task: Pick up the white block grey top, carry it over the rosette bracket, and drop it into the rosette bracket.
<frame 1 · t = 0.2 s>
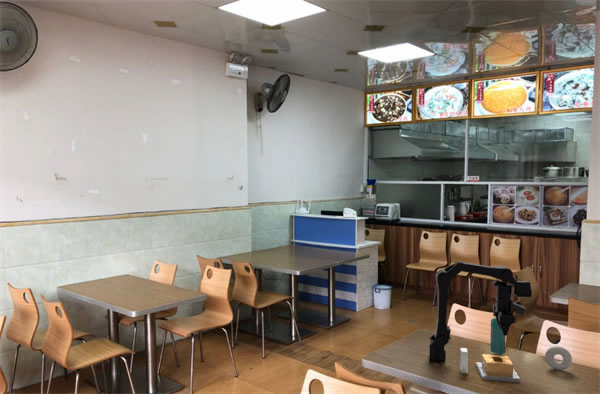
hand: (503, 332, 197), 14 cm above the table, tool pointing down, fingers open, 9 cm apart
beverage bottle: (497, 355, 209), on the table
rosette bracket: (497, 373, 189), on the table
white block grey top: (463, 371, 191), on the table
donut: (558, 370, 192), on the table
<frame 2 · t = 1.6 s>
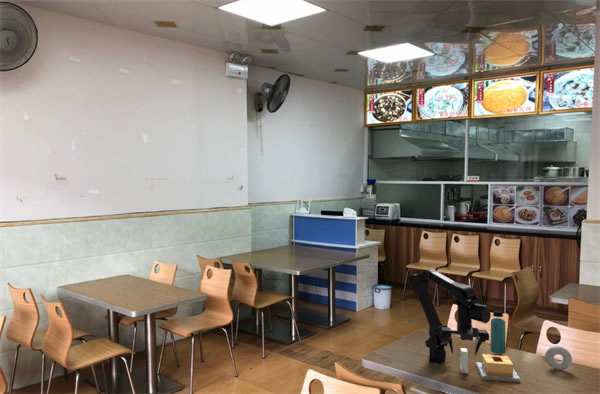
hand: (463, 354, 191), 7 cm above the table, tool pointing down, fingers open, 9 cm apart
nothing on the table moved.
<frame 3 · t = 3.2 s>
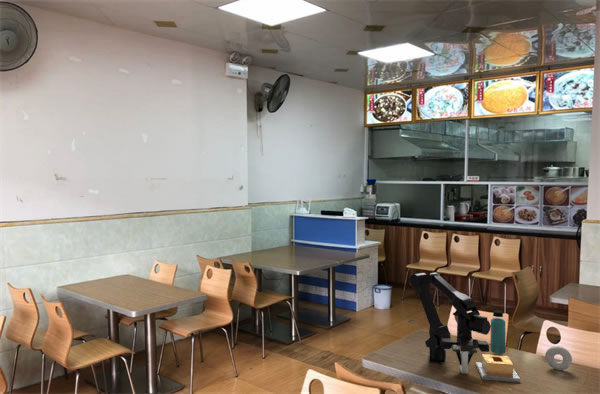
hand: (463, 365, 191), 3 cm above the table, tool pointing down, fingers closed on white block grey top, 2 cm apart
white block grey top: (463, 371, 191), on the table, touching gripper
everything else where it was.
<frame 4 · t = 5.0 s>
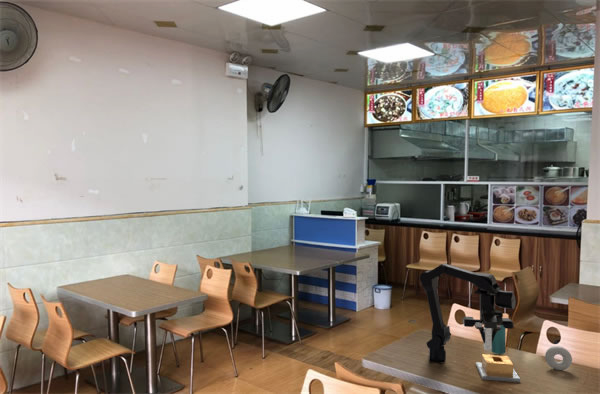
hand: (487, 343, 189), 12 cm above the table, tool pointing down, fingers closed on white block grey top, 2 cm apart
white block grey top: (487, 349, 188), point 10 cm above the table, touching gripper
everything else where it was.
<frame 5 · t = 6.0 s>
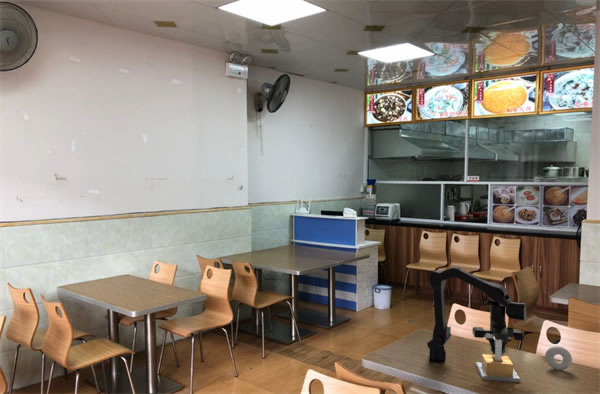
hand: (497, 354, 188), 8 cm above the table, tool pointing down, fingers closed on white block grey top, 2 cm apart
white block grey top: (497, 360, 188), point 6 cm above the table, touching gripper
everything else where it was.
when the fingers open (7 cm above the table, at t = 6.8 s): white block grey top drops 5 cm, resting in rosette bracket.
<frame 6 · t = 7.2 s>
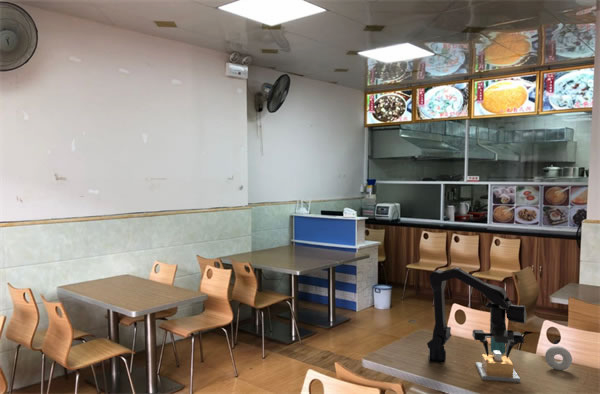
hand: (497, 356, 188), 7 cm above the table, tool pointing down, fingers open, 7 cm apart
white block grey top: (497, 373, 188), resting in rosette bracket
everything else where it was.
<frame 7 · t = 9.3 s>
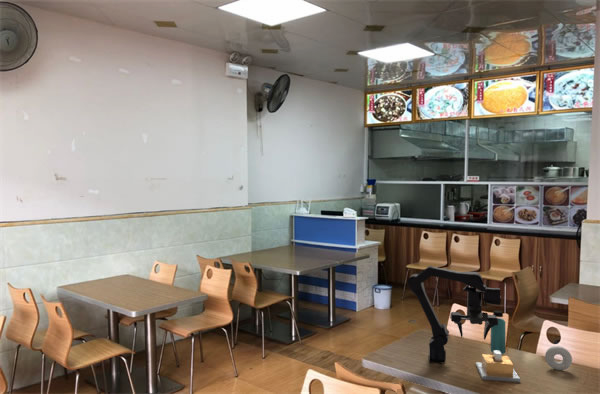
hand: (473, 338, 197), 12 cm above the table, tool pointing down, fingers open, 9 cm apart
nothing on the table moved.
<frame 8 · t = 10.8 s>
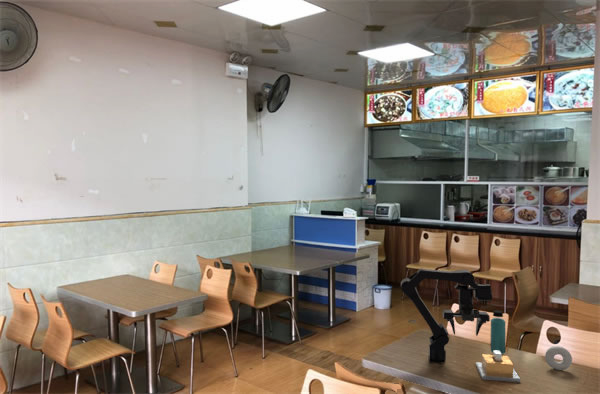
hand: (465, 335, 200), 12 cm above the table, tool pointing down, fingers open, 9 cm apart
nothing on the table moved.
at the end: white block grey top 0.1 cm off-centre on the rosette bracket, point 0.0 cm above the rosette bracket's base; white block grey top tilted 0°; the gripper is holding nothing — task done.
